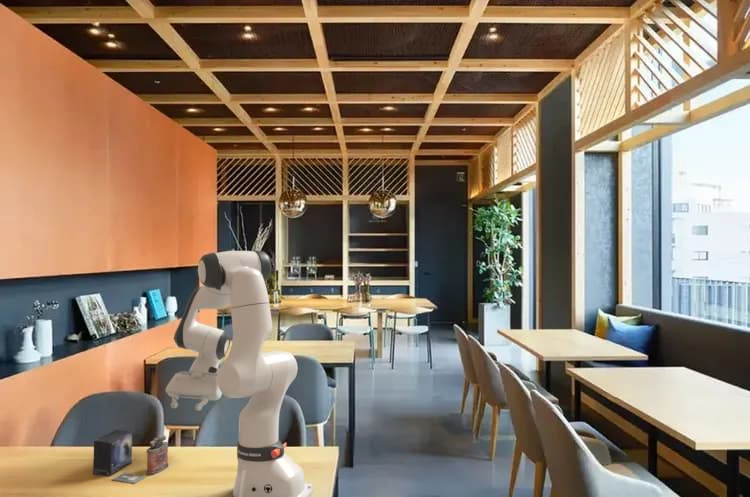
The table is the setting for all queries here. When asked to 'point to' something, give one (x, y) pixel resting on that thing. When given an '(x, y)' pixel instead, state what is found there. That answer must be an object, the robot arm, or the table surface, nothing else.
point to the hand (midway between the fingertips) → (185, 408)
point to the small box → (112, 452)
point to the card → (129, 478)
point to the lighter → (157, 456)
